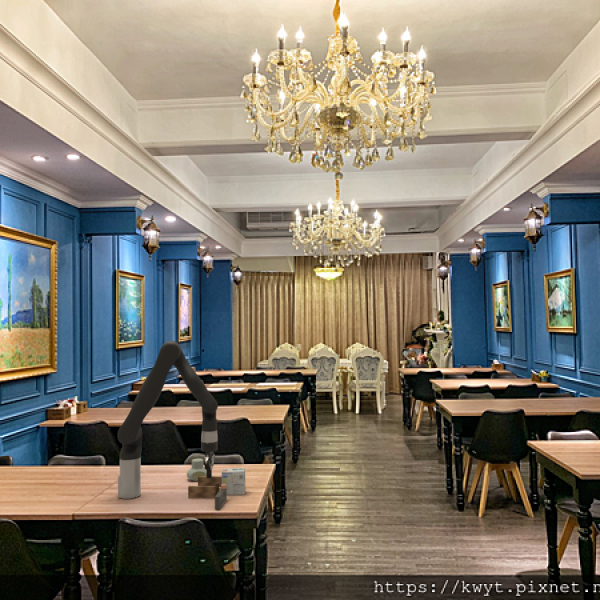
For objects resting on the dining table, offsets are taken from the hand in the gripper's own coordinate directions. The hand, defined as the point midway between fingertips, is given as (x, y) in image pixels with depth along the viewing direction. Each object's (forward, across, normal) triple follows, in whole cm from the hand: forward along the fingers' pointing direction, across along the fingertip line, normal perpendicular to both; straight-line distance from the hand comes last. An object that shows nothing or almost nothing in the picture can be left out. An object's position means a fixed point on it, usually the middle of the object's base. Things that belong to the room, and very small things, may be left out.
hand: (209, 477), depth 253 cm
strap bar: (+6, +19, +10) cm, 22 cm away
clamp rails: (+6, +1, 0) cm, 6 cm away
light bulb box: (+6, +2, +12) cm, 14 cm away
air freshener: (+7, -21, -11) cm, 25 cm away
